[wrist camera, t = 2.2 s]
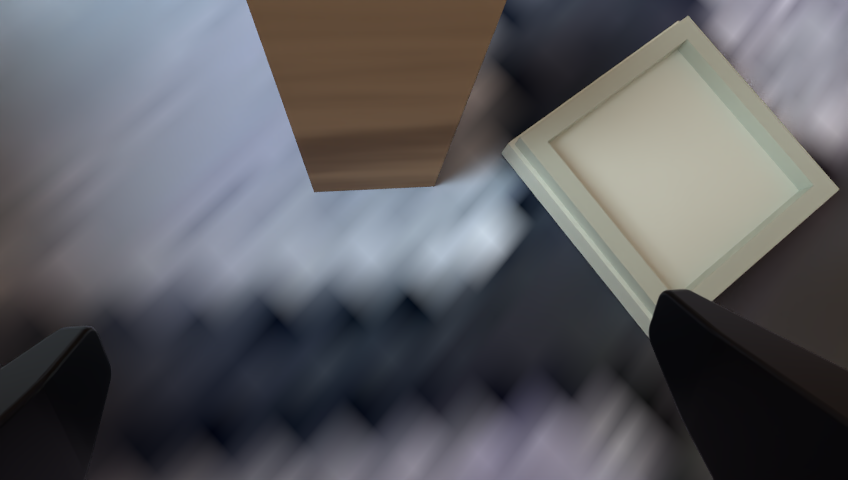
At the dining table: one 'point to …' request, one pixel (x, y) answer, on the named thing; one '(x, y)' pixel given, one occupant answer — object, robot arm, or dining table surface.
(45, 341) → the robot arm
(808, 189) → the cream square tray
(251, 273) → the dining table surface
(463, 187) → the dining table surface
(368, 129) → the walnut post
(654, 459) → the dining table surface
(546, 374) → the dining table surface
